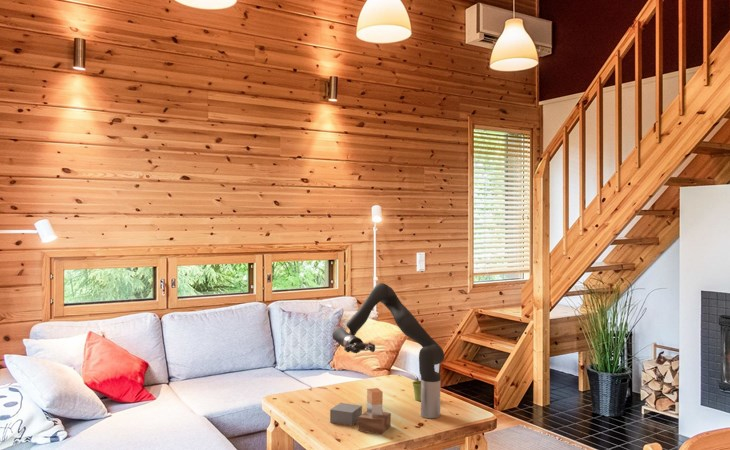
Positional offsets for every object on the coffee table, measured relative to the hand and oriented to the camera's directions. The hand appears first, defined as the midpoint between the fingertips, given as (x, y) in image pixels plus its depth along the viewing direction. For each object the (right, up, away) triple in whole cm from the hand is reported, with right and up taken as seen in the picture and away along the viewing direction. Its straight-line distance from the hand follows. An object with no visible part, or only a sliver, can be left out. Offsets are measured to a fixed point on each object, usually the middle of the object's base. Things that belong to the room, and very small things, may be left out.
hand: (365, 350), depth 278 cm
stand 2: (+4, -32, -12) cm, 35 cm away
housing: (+4, -26, -12) cm, 29 cm away
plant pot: (+29, -32, +30) cm, 53 cm away
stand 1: (-9, -32, -2) cm, 33 cm away
